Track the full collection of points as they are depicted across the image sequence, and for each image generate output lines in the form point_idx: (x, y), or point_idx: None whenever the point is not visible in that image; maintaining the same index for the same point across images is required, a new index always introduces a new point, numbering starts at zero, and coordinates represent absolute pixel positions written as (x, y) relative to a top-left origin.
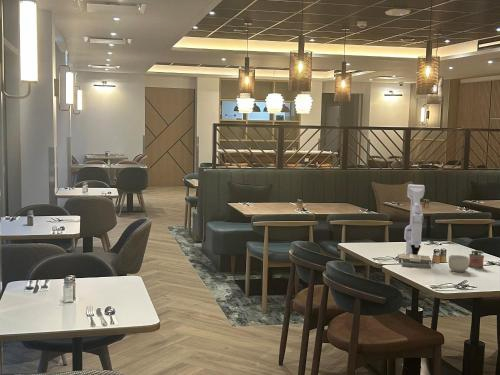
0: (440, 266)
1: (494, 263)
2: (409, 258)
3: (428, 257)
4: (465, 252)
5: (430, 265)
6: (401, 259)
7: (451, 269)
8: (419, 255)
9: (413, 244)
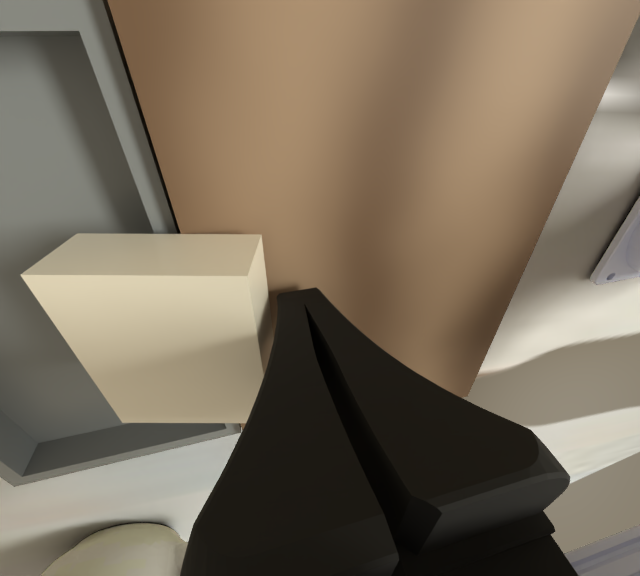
0: (217, 460)
1: None
2: (223, 228)
3: None
4: (622, 441)
5: (12, 474)
6: (58, 5)
7: (81, 543)
8: (247, 413)
9: (537, 538)
